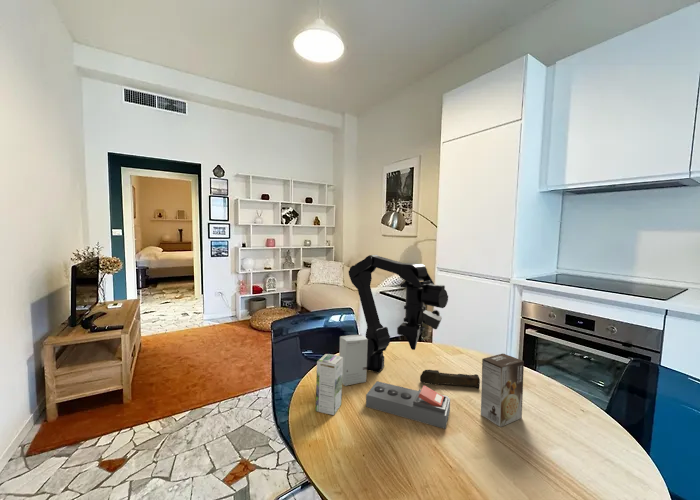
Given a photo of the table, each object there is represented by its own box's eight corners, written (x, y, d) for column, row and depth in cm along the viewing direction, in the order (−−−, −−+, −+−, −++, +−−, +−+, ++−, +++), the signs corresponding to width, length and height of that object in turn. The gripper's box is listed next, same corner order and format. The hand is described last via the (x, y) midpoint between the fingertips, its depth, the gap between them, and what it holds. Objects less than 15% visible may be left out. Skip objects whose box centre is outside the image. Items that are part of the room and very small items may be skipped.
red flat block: (418, 397, 81) (419, 393, 81) (422, 388, 85) (423, 384, 85) (439, 409, 79) (441, 405, 78) (442, 400, 83) (444, 396, 83)
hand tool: (477, 384, 100) (477, 370, 100) (480, 390, 96) (480, 376, 96) (419, 379, 103) (419, 366, 103) (420, 385, 99) (420, 371, 99)
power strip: (365, 406, 86) (366, 391, 85) (376, 391, 94) (377, 377, 93) (445, 428, 76) (446, 411, 76) (449, 410, 84) (450, 395, 84)
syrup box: (323, 401, 88) (324, 352, 87) (342, 405, 86) (343, 355, 85) (315, 411, 83) (315, 360, 82) (334, 416, 81) (335, 363, 80)
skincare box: (344, 386, 97) (345, 341, 96) (337, 378, 102) (338, 335, 102) (367, 382, 100) (368, 338, 99) (360, 374, 106) (360, 332, 105)
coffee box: (501, 406, 87) (503, 352, 86) (522, 418, 81) (525, 360, 80) (479, 414, 83) (481, 358, 82) (500, 428, 77) (503, 367, 76)
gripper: (435, 311, 85) (433, 365, 86) (444, 299, 102) (442, 344, 103) (397, 307, 90) (396, 358, 91) (412, 296, 107) (410, 339, 108)
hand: (413, 349), depth 98 cm, fingers closed
